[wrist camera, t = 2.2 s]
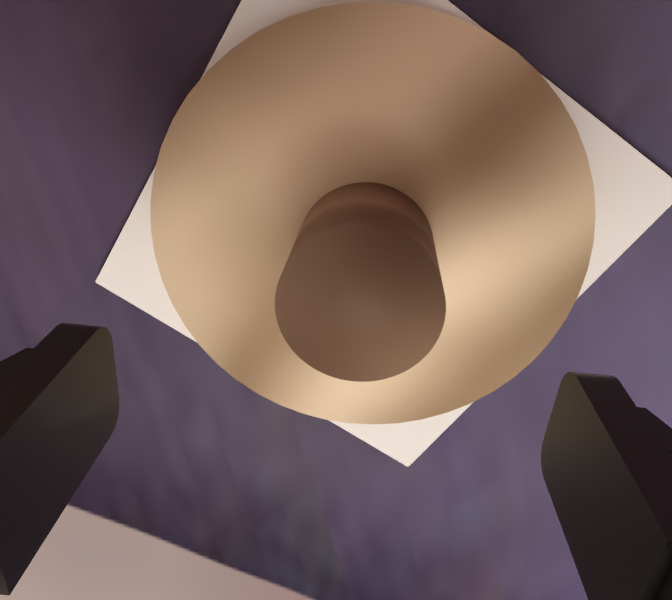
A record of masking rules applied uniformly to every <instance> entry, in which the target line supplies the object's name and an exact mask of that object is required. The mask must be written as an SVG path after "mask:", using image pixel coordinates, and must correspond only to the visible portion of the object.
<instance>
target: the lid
mask: <svg viewBox="0 0 672 600" xmlns="http://www.w3.org/2000/svg"><path fill="white" fill-rule="evenodd" d="M150 207H151V233H152V240H153V247H154V254H155V258H156V261H157V265H158V268H159V272H160V275H161V279H162V281H163V284H164V286H165V289H166V291H167V293H168V296H169V298H170V300H171V303H172V305H173V306H174V308H175V310H176V311H177V313H178V315H179V317H180V318H181V320H182V322H183V323H184V325H185V327H186V328H187V329H188V331H189V332H190V333H191V335H192V336H193V337H194V339H195V340H196V341H197V343H198V344H199V345H200V346H201V347H202V348H203V349H204V350H205V352H206V353H207V354H208V355H209V356H210V357H211V358H212V359H213V360H214V361H215V362H216V363H217V364H218V365H219V366H221V367H222V368H223V369H224V370H225V371H227V372H228V373H229V374H230V375H231V376H233V377H234V378H235V379H236V380H238V381H239V382H241V383H242V384H244V385H245V386H247V387H248V388H250V389H251V390H253V391H254V392H256V393H258V394H260V395H261V396H263V397H265V398H267V399H269V400H271V401H273V402H275V403H277V404H279V405H282V406H284V407H287V408H289V409H292V410H295V411H297V412H300V413H303V414H307V415H310V416H314V417H318V418H321V419H326V420H332V421H338V422H344V423H355V424H394V423H403V422H409V421H415V420H422V419H426V418H429V417H433V416H437V415H441V414H444V413H447V412H450V411H453V410H455V409H458V408H460V407H463V406H465V405H468V404H470V403H472V402H474V401H476V400H478V399H480V398H482V397H484V396H486V395H488V394H489V393H491V392H493V391H494V390H496V389H497V388H499V387H500V386H502V385H503V384H505V383H506V382H508V381H509V380H511V379H512V378H514V377H515V376H516V375H517V374H518V373H519V372H520V371H522V370H523V369H524V368H525V367H526V366H527V365H529V364H530V363H531V362H532V361H533V360H534V359H535V358H536V357H537V356H538V355H539V353H540V352H541V351H542V350H543V349H544V348H545V347H546V346H547V345H548V344H549V342H550V341H551V340H552V338H553V337H554V336H555V334H556V333H557V331H558V330H559V328H560V327H561V326H562V324H563V323H564V321H565V320H566V318H567V316H568V314H569V312H570V311H571V309H572V307H573V305H574V303H575V301H576V299H577V297H578V295H579V292H580V290H581V287H582V284H583V281H584V279H585V276H586V273H587V271H588V266H589V262H590V257H591V253H592V248H593V243H594V231H595V217H596V210H595V196H594V184H593V179H592V175H591V170H590V166H589V161H588V157H587V154H586V151H585V148H584V146H583V143H582V141H581V138H580V135H579V133H578V130H577V128H576V125H575V124H574V122H573V120H572V119H571V117H570V115H569V113H568V112H567V110H566V108H565V106H564V105H563V103H562V101H561V99H560V98H559V97H558V95H557V94H556V93H555V92H554V90H553V89H552V88H551V87H550V85H549V84H548V83H547V82H546V80H545V79H544V78H543V77H542V75H541V74H540V73H539V72H538V71H537V70H536V69H535V68H534V67H533V66H531V65H530V64H529V63H528V62H527V61H526V60H525V59H524V58H523V57H522V56H521V55H520V54H519V53H517V52H516V51H515V50H514V49H512V48H511V47H509V46H508V45H506V44H505V43H503V42H502V41H500V40H499V39H498V38H496V37H495V36H493V35H492V34H490V33H489V32H487V31H485V30H483V29H481V28H479V27H476V26H474V25H472V24H470V23H468V22H466V21H464V20H462V19H460V18H458V17H455V16H452V15H448V14H445V13H442V12H438V11H435V10H432V9H429V8H425V7H420V6H414V5H407V4H400V3H394V2H351V3H344V4H337V5H331V6H324V7H319V8H316V9H313V10H309V11H306V12H303V13H299V14H296V15H293V16H289V17H287V18H285V19H283V20H281V21H279V22H276V23H274V24H272V25H270V26H268V27H266V28H264V29H262V30H259V31H258V32H256V33H255V34H253V35H252V36H250V37H249V38H247V39H246V40H244V41H243V42H241V43H240V44H238V45H237V46H235V47H234V48H232V49H231V50H230V51H229V52H228V53H226V54H225V55H224V56H223V57H222V58H221V59H220V60H219V61H218V62H216V63H215V64H214V65H213V66H212V67H211V68H210V69H209V70H208V71H207V72H206V73H205V74H204V76H203V77H202V78H201V79H200V80H199V82H198V83H197V84H196V85H195V86H194V88H193V89H192V90H191V91H190V92H189V94H188V95H187V97H186V98H185V100H184V102H183V103H182V105H181V107H180V108H179V110H178V112H177V113H176V115H175V116H174V118H173V120H172V122H171V125H170V127H169V129H168V132H167V134H166V136H165V139H164V141H163V143H162V146H161V149H160V153H159V156H158V160H157V164H156V168H155V171H154V176H153V185H152V193H151V201H150Z"/></svg>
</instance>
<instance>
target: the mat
mask: <svg viewBox="0 0 672 600" xmlns="http://www.w3.org/2000/svg"><path fill="white" fill-rule="evenodd" d="M351 2H394V3H400V4H407V5H414V6H420V7H425V8H429V9H432V10H435V11H438V12H442V13H445V14H448V15H452V16H455V17H458V18H460V19H462V20H464V21H466V22H468V23H470V24H472V25H474V26H476V27H479V28H481V29H483V28H482V27H481V26H480V25H478V24H477V23H476V22H475V21H473V20H472V19H471V18H470V17H468V16H467V15H466V14H465V13H463V12H462V11H461V10H460V9H458V8H457V7H456V6H454V5H453V4H452V3H451V2H449V1H448V0H241V2H240V4H239V6H238V8H237V10H236V12H235V14H234V16H233V17H232V19H231V21H230V23H229V25H228V27H227V29H226V31H225V33H224V35H223V37H222V39H221V41H220V43H219V44H218V46H217V48H216V50H215V52H214V54H213V56H212V58H211V60H210V62H209V64H208V66H207V68H206V70H205V71H204V73H203V75H202V77H203V76H204V74H205V73H206V72H207V71H208V70H209V69H210V68H211V67H212V66H213V65H214V64H215V63H216V62H218V61H219V60H220V59H221V58H222V57H223V56H224V55H225V54H226V53H228V52H229V51H230V50H231V49H232V48H234V47H235V46H237V45H238V44H240V43H241V42H243V41H244V40H246V39H247V38H249V37H250V36H252V35H253V34H255V33H256V32H258V31H259V30H262V29H264V28H266V27H268V26H270V25H272V24H274V23H276V22H279V21H281V20H283V19H285V18H287V17H289V16H293V15H296V14H299V13H303V12H306V11H309V10H313V9H316V8H319V7H324V6H331V5H337V4H344V3H351ZM483 30H485V29H483ZM485 31H486V30H485ZM202 77H201V78H202ZM542 77H543V78H544V79H545V80H546V82H547V83H548V84H549V85H550V87H551V88H552V89H553V90H554V92H555V93H556V94H557V95H558V97H559V98H560V99H561V101H562V103H563V105H564V106H565V108H566V110H567V112H568V113H569V115H570V117H571V119H572V120H573V122H574V124H575V125H576V128H577V130H578V133H579V135H580V138H581V141H582V143H583V146H584V148H585V151H586V154H587V157H588V161H589V166H590V170H591V175H592V179H593V184H594V196H595V210H596V217H595V231H594V243H593V248H592V253H591V257H590V262H589V266H588V271H587V273H586V276H585V279H584V281H583V284H582V287H581V290H580V292H579V295H578V297H579V296H580V295H581V294H582V293H583V292H584V291H585V290H586V289H587V288H588V287H589V286H590V285H591V284H592V283H593V282H594V281H595V280H596V279H597V278H598V277H599V276H600V275H601V274H602V273H603V272H604V271H605V270H606V269H607V268H608V267H609V266H610V265H611V264H612V263H613V262H614V261H615V260H617V259H618V258H619V257H620V256H621V255H622V254H623V253H624V252H625V251H626V250H627V249H628V248H629V247H630V246H631V245H632V244H633V243H634V242H635V241H636V240H637V239H638V238H639V237H640V236H641V235H642V234H643V233H644V232H645V231H646V230H647V229H648V228H649V227H650V226H651V225H652V224H653V223H654V222H655V221H656V220H657V219H658V218H659V217H660V216H661V215H662V214H663V213H664V212H665V211H666V210H667V209H668V208H669V207H670V206H671V205H672V178H671V177H670V176H669V175H668V174H666V173H665V172H664V171H663V170H661V169H660V168H659V167H657V166H656V165H655V164H654V163H652V162H651V161H650V160H649V159H647V158H646V157H645V156H644V155H642V154H641V153H640V152H639V151H637V150H636V149H635V148H634V147H632V146H631V145H630V144H628V143H627V142H626V141H625V140H623V139H622V138H621V137H620V136H618V135H617V134H616V133H615V132H613V131H612V130H611V129H610V128H608V127H607V126H606V125H605V124H603V123H602V122H601V121H599V120H598V119H597V118H596V117H594V116H593V115H592V114H591V113H589V112H588V111H587V110H586V109H584V108H583V107H582V106H581V105H579V104H578V103H577V102H576V101H574V100H573V99H572V98H570V97H569V96H568V95H567V94H565V93H564V92H563V91H562V90H560V89H559V88H558V87H557V86H555V85H554V84H553V83H552V82H550V81H549V80H548V79H547V78H545V77H544V76H543V75H542ZM155 168H156V166H155ZM155 168H154V170H153V172H152V174H151V176H150V177H149V179H148V181H147V183H146V185H145V187H144V189H143V191H142V193H141V195H140V197H139V199H138V201H137V203H136V204H135V206H134V208H133V210H132V212H131V214H130V216H129V218H128V220H127V222H126V224H125V226H124V228H123V230H122V231H121V233H120V235H119V237H118V239H117V241H116V243H115V245H114V247H113V249H112V251H111V253H110V255H109V257H108V258H107V260H106V262H105V264H104V266H103V268H102V270H101V272H100V274H99V276H98V278H97V280H96V283H98V284H99V285H101V286H103V287H104V288H106V289H108V290H109V291H111V292H113V293H114V294H116V295H118V296H120V297H121V298H123V299H125V300H126V301H128V302H130V303H131V304H133V305H135V306H136V307H138V308H140V309H142V310H143V311H145V312H147V313H148V314H150V315H152V316H153V317H155V318H157V319H158V320H160V321H162V322H163V323H165V324H167V325H169V326H170V327H172V328H174V329H175V330H177V331H179V332H180V333H182V334H184V335H185V336H187V337H189V338H191V339H192V340H194V341H196V340H195V339H194V337H193V336H192V335H191V333H190V332H189V331H188V329H187V328H186V327H185V325H184V323H183V322H182V320H181V318H180V317H179V315H178V313H177V311H176V310H175V308H174V306H173V305H172V303H171V300H170V298H169V296H168V293H167V291H166V289H165V286H164V284H163V281H162V279H161V275H160V272H159V268H158V265H157V261H156V258H155V254H154V247H153V240H152V233H151V207H150V201H151V193H152V185H153V176H154V171H155ZM578 297H577V298H578ZM196 342H197V341H196ZM472 403H473V402H472ZM472 403H470V404H468V405H465V406H463V407H460V408H458V409H455V410H453V411H450V412H447V413H444V414H441V415H437V416H433V417H429V418H426V419H422V420H415V421H409V422H403V423H394V424H355V423H344V422H338V421H332V420H329V421H331V422H333V423H334V424H336V425H338V426H339V427H341V428H343V429H344V430H346V431H348V432H350V433H351V434H353V435H355V436H356V437H358V438H360V439H361V440H363V441H365V442H366V443H368V444H370V445H372V446H373V447H375V448H377V449H378V450H380V451H382V452H383V453H385V454H387V455H388V456H390V457H392V458H394V459H395V460H397V461H399V462H400V463H402V464H404V465H405V466H407V467H409V466H410V465H411V464H412V463H413V462H414V461H415V460H416V459H417V458H418V457H419V456H420V455H421V454H422V453H423V452H424V451H425V450H426V449H427V448H428V447H429V446H430V445H431V444H432V443H433V442H434V441H435V440H436V439H437V438H438V437H439V436H440V435H441V434H442V433H443V432H444V431H445V430H446V429H447V428H448V427H449V426H450V425H451V424H452V423H453V422H454V421H455V420H456V419H457V418H458V417H459V416H460V415H461V414H462V413H463V412H464V411H465V410H466V409H467V408H468V407H469V406H470V405H471V404H472Z"/></svg>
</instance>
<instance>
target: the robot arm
mask: <svg viewBox="0 0 672 600" xmlns="http://www.w3.org/2000/svg"><path fill="white" fill-rule="evenodd" d="M118 413H119V393H118V384H117V376H116V368H115V360H114V351H113V343H112V337H111V334H110V332H109V330H108V329H107V328H106V327H99V326H88V325H78V324H67V323H62V324H59V325H58V326H56V327H55V328H54V329H53V330H52V331H51V332H50V333H49V334H48V335H47V336H46V337H45V338H44V339H43V340H42V341H41V342H40V343H39V344H38V345H37V346H36V347H35V348H34V349H33V348H26V349H24V350H22V351H20V352H18V353H16V354H14V355H12V356H10V357H8V358H6V359H4V360H2V361H0V594H3V595H10V594H11V592H12V591H13V589H14V587H15V586H16V584H17V583H18V581H19V579H20V578H21V576H22V575H23V573H24V572H25V570H26V568H27V567H28V565H29V564H30V562H31V561H32V559H33V557H34V556H35V554H36V553H37V551H38V550H39V548H40V546H41V544H42V543H43V542H44V540H45V538H46V537H47V535H48V534H49V532H50V531H51V529H52V527H53V526H54V524H55V523H56V521H57V520H58V518H59V516H60V515H61V513H62V512H63V510H64V509H65V507H66V505H67V504H68V502H69V501H70V499H71V497H72V496H73V494H74V493H75V491H76V490H77V488H78V486H79V485H80V483H81V482H82V480H83V479H84V477H85V475H86V474H87V472H88V471H89V469H90V467H91V466H92V464H93V463H94V461H95V460H96V458H97V456H98V455H99V453H100V452H101V450H102V449H103V447H104V445H105V444H106V442H107V441H108V439H109V438H110V436H111V434H112V432H113V430H114V428H115V425H116V422H117V418H118ZM541 464H542V472H543V477H544V480H545V482H546V485H547V488H548V491H549V493H550V496H551V499H552V502H553V504H554V507H555V510H556V513H557V515H558V518H559V521H560V523H561V526H562V529H563V532H564V534H565V537H566V540H567V543H568V545H569V548H570V551H571V554H572V556H573V559H574V562H575V564H576V567H577V570H578V573H579V575H580V578H581V581H582V584H583V586H584V589H585V592H586V595H587V597H588V600H672V429H671V428H670V427H669V426H668V425H666V424H665V423H664V422H663V421H661V420H660V419H659V418H658V417H656V416H655V415H654V414H652V413H651V412H650V411H649V410H647V409H646V408H639V407H636V405H635V404H634V402H633V401H632V399H631V398H630V396H629V395H628V393H627V392H626V390H625V389H624V387H623V386H622V384H621V383H620V381H619V380H618V379H617V378H616V377H614V376H608V375H598V374H587V373H577V372H568V373H566V374H565V375H564V377H563V379H562V381H561V383H560V387H559V390H558V393H557V397H556V400H555V403H554V407H553V410H552V413H551V417H550V420H549V423H548V427H547V430H546V433H545V437H544V440H543V444H542V452H541Z"/></svg>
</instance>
